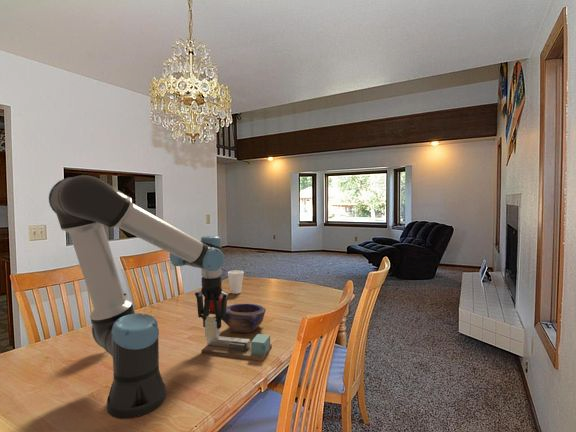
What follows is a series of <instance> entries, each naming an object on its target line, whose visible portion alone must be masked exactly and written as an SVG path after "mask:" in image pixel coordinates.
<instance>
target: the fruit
mask: <svg viewBox="0 0 576 432" xmlns="http://www.w3.org/2000/svg"><path fill="white" fill-rule="evenodd" d="M219 299H220V301H219V303H220V309H221V301H222V298H221V295H220V297H219ZM209 312H212V313H214V314H215V309H214V304H213V301H212V300H211V301H210V308H209Z"/></svg>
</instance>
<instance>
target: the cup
mask: <svg viewBox="0 0 576 432" xmlns="http://www.w3.org/2000/svg"><path fill="white" fill-rule="evenodd" d="M244 274H245V272H244V270H238V269H237V270H230V271H227V277H228V282H229V288H230V293H231V294H237V295H238V294H241V293H242V290H243V289H242V286H243V279H244V276H245V275H244Z"/></svg>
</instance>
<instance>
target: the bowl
mask: <svg viewBox="0 0 576 432" xmlns="http://www.w3.org/2000/svg"><path fill="white" fill-rule="evenodd" d="M265 313H266V308H265V307H264V306H262V305H258V304H252V303H235V304H232V305H227V309H226V317H225V318H224V319H223V320H222V321H223V322H224V323H225V324H226V325H227V327H229V328H230V330H232V331H233V332H235V333H241V334H245V333H246V334H247V333H251V332H254V331H255V330H256V329H258V328H259V326H260V325H261V324H262V322H263V321H264V317H265Z"/></svg>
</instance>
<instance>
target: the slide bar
mask: <svg viewBox="0 0 576 432" xmlns="http://www.w3.org/2000/svg"><path fill="white" fill-rule="evenodd" d="M215 320H216V316H215V313H214V314H213V313H210V314H209V315H208V316H207V337H206V346H207V345H213V346H221V347H229V343H230V342H232V343H241V344H245V349H246V350H248V348H249V347H250V342H251V339H250V340H248V339H249V338H246V339H239V338H240V337H237V338H235V337H230V336H229V337H228V336H222V335H221V336H220V335H219V336H218V337H217V338H214V321H215Z"/></svg>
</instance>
